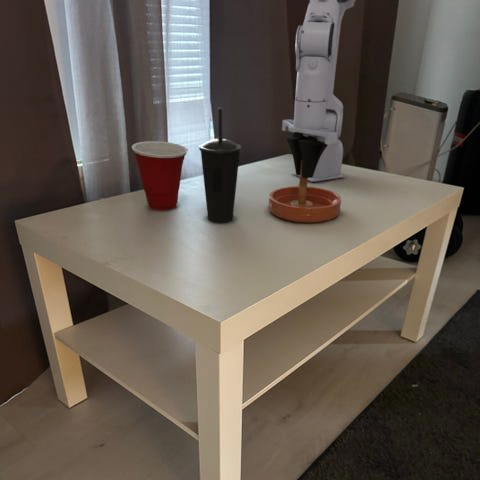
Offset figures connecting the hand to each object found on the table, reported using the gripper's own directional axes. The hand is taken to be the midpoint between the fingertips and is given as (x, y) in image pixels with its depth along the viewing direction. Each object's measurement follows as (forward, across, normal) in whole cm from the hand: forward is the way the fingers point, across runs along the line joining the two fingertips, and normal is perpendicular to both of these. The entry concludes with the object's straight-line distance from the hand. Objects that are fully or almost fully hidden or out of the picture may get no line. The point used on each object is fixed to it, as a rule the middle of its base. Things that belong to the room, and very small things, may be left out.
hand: (304, 175), depth 94 cm
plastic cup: (+8, -16, -23) cm, 29 cm away
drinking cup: (+8, -4, -16) cm, 19 cm away
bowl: (+7, 0, +1) cm, 7 cm away
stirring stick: (+6, 0, 0) cm, 6 cm away
